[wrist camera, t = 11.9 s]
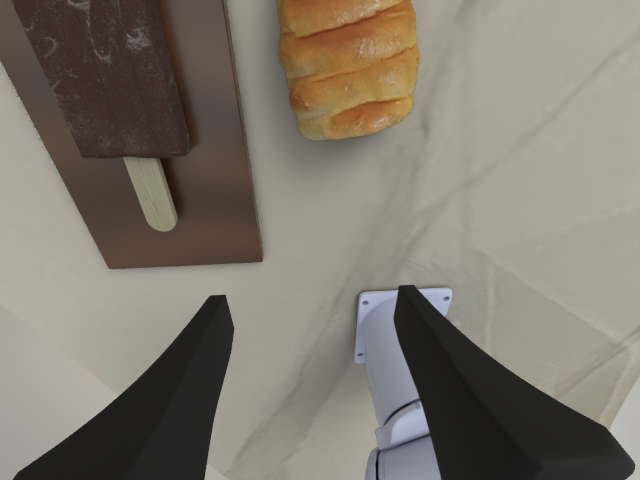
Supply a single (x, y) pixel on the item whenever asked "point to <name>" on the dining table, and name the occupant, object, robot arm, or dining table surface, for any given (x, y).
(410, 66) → the pastry
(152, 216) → the ice cream bar
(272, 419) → the dining table surface
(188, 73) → the walnut board
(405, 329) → the robot arm
